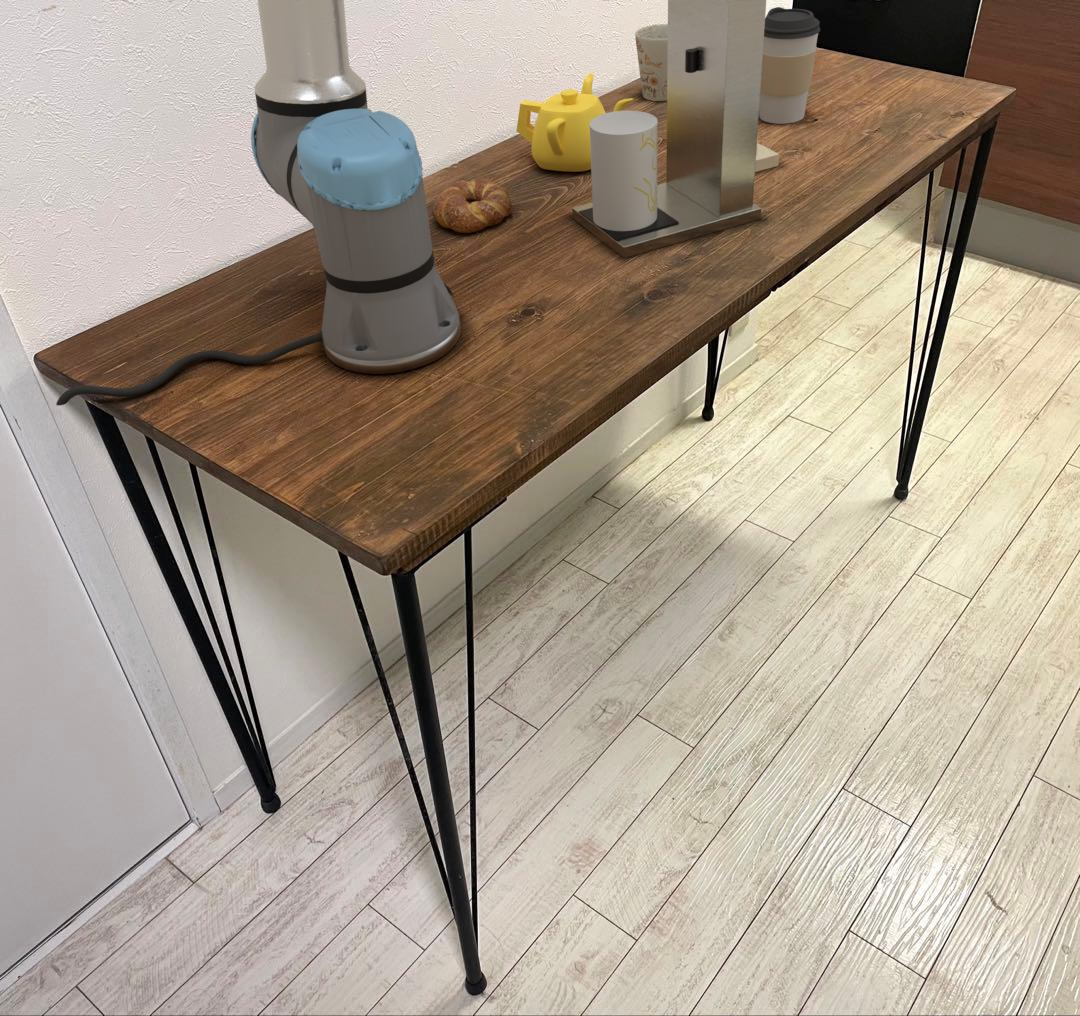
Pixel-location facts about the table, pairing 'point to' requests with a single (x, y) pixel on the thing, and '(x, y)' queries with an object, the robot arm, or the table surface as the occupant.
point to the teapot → (563, 127)
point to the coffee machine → (704, 126)
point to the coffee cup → (787, 64)
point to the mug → (653, 60)
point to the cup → (624, 170)
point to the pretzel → (471, 205)
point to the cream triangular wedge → (765, 158)
